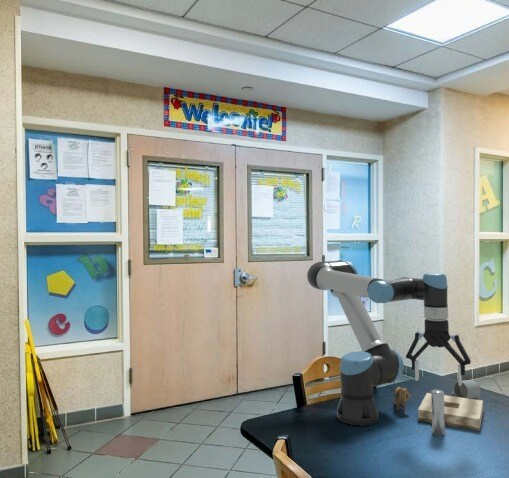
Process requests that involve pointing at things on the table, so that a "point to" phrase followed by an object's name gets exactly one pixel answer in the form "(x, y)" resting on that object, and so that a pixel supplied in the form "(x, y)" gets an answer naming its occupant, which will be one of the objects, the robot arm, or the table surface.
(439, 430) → the metal peg
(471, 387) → the ceramic mug
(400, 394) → the lion figurine
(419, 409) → the maple block
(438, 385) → the table surface
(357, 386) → the robot arm
